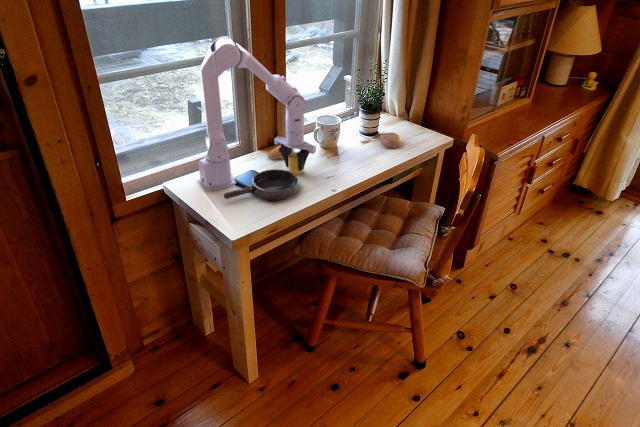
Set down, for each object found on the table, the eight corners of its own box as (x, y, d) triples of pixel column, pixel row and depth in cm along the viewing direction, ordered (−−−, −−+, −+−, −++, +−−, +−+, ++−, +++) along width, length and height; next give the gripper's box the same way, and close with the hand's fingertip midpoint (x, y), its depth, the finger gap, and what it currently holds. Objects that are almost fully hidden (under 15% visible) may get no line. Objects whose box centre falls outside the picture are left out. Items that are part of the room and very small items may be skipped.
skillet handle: (225, 200, 139) (224, 195, 138) (222, 197, 140) (222, 192, 139) (258, 191, 144) (258, 186, 143) (256, 188, 145) (255, 183, 144)
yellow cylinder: (292, 176, 155) (292, 158, 152) (286, 170, 158) (285, 152, 155) (304, 173, 157) (304, 155, 154) (297, 167, 160) (297, 149, 157)
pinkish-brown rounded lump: (373, 141, 180) (382, 144, 173) (380, 126, 179) (389, 129, 172) (389, 149, 183) (398, 152, 176) (396, 134, 182) (405, 137, 175)
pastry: (274, 163, 163) (274, 153, 161) (263, 156, 168) (263, 146, 165) (296, 156, 168) (296, 146, 166) (285, 149, 173) (285, 140, 170)
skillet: (265, 206, 140) (264, 195, 138) (245, 185, 150) (244, 175, 148) (305, 194, 146) (305, 184, 144) (284, 175, 156) (284, 165, 154)
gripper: (321, 130, 150) (320, 168, 157) (282, 120, 155) (283, 158, 163) (310, 137, 145) (309, 177, 152) (270, 128, 150) (271, 166, 158)
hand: (295, 167), depth 157 cm, fingers closed on yellow cylinder, 4 cm apart
